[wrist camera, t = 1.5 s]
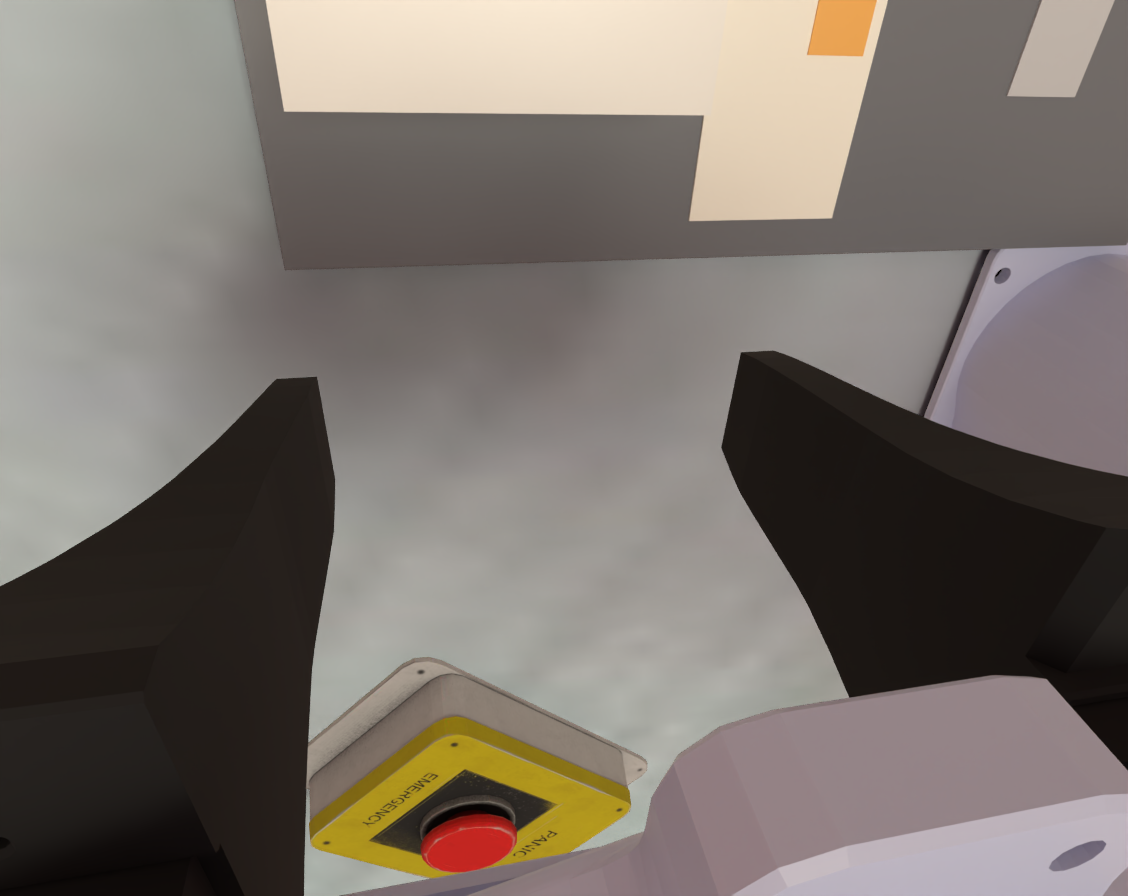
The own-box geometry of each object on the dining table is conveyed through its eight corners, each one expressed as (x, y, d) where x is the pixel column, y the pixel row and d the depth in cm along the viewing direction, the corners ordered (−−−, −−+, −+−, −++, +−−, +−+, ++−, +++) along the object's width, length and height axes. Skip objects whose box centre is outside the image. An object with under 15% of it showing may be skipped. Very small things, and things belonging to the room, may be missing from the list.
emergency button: (422, 743, 24) (681, 843, 32) (419, 640, 28) (652, 753, 36) (257, 871, 27) (533, 935, 35) (272, 762, 30) (520, 843, 38)
